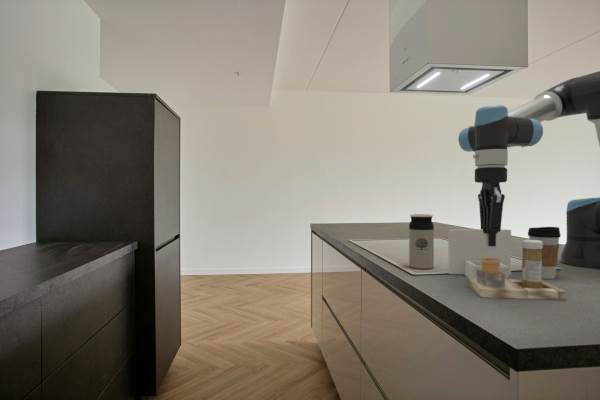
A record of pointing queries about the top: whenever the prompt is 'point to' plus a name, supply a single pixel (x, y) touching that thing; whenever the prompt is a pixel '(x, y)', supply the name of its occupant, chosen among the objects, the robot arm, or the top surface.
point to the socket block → (511, 288)
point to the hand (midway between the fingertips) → (490, 258)
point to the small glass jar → (490, 266)
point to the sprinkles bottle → (532, 263)
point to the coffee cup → (547, 248)
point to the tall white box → (476, 251)
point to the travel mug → (421, 241)
